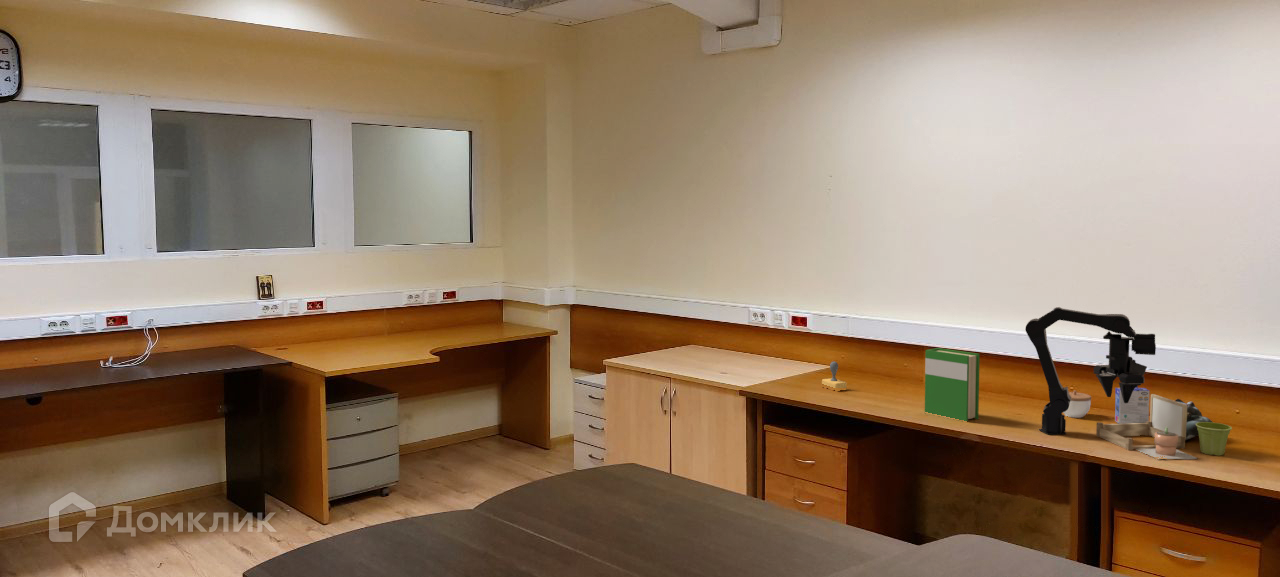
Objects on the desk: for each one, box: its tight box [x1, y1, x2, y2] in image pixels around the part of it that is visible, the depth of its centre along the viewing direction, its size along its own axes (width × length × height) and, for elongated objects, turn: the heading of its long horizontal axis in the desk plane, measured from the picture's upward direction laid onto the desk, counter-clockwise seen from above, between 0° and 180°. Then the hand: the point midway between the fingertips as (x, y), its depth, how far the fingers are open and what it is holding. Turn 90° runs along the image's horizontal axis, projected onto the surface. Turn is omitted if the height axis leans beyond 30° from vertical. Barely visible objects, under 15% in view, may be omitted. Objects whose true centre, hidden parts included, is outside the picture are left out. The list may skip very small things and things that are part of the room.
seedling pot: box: [1153, 427, 1178, 456], centre depth 267 cm, size 6×6×8 cm
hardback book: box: [924, 347, 981, 422], centre depth 320 cm, size 18×7×24 cm, turn 35°
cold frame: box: [1095, 420, 1186, 451], centre depth 282 cm, size 18×17×5 cm
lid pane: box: [1149, 393, 1187, 439], centre depth 282 cm, size 1×16×11 cm, turn 3°
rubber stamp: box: [821, 361, 847, 389], centre depth 372 cm, size 10×6×12 cm, turn 25°
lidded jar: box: [1062, 390, 1092, 419], centre depth 318 cm, size 11×11×9 cm
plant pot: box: [1196, 421, 1233, 456], centre depth 268 cm, size 9×9×9 cm
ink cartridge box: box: [1114, 385, 1151, 424], centre depth 306 cm, size 10×6×14 cm, turn 78°
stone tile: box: [1135, 448, 1198, 460], centre depth 267 cm, size 12×11×1 cm
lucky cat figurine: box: [1174, 398, 1213, 441], centre depth 287 cm, size 15×12×14 cm
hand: (1117, 400), depth 285 cm, fingers open, 9 cm apart
